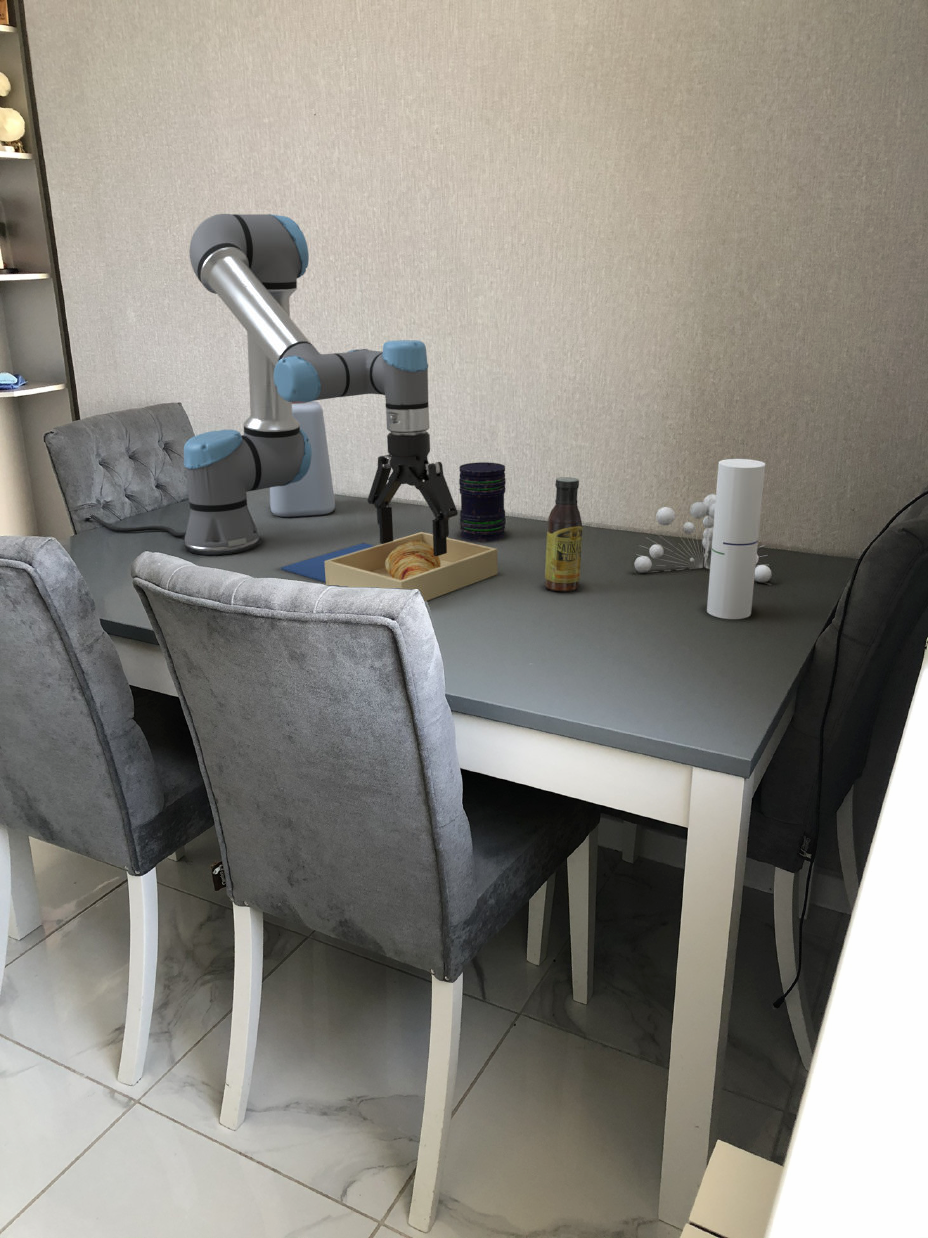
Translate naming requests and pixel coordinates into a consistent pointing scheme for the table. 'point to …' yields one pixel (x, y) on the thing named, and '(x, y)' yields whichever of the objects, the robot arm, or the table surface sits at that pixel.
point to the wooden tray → (455, 572)
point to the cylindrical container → (735, 537)
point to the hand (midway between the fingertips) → (412, 548)
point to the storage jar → (482, 501)
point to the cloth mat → (321, 563)
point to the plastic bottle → (317, 484)
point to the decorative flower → (698, 512)
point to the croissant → (411, 560)
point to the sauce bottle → (564, 538)
